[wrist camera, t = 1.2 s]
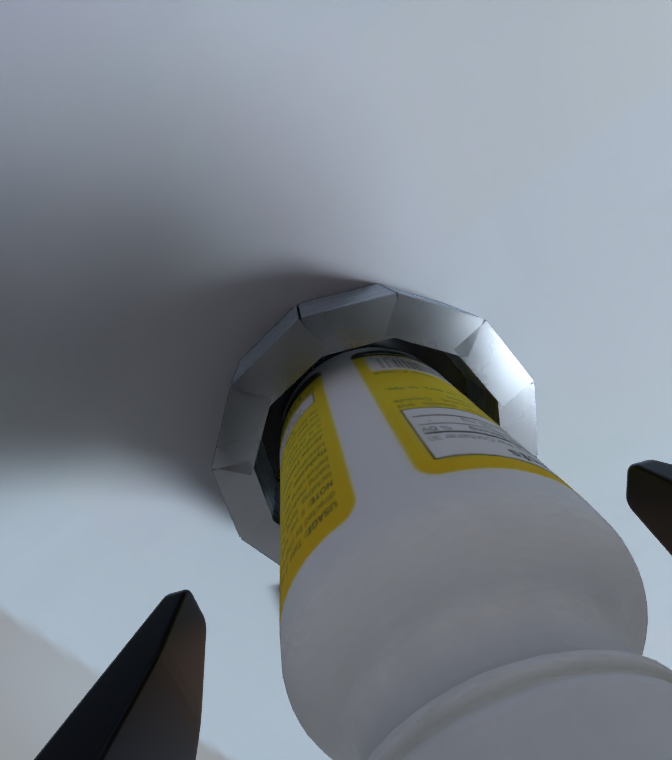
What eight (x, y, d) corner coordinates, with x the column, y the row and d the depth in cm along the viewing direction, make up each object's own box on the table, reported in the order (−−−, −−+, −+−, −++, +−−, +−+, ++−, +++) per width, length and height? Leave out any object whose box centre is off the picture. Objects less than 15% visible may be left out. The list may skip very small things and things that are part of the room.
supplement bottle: (322, 522, 13) (409, 1172, 4) (249, 388, 11) (89, 1060, 2) (470, 460, 13) (905, 982, 4) (421, 313, 11) (1076, 668, 2)
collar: (506, 499, 14) (541, 539, 12) (274, 564, 13) (273, 616, 12) (485, 255, 11) (528, 259, 9) (185, 332, 10) (162, 353, 9)
